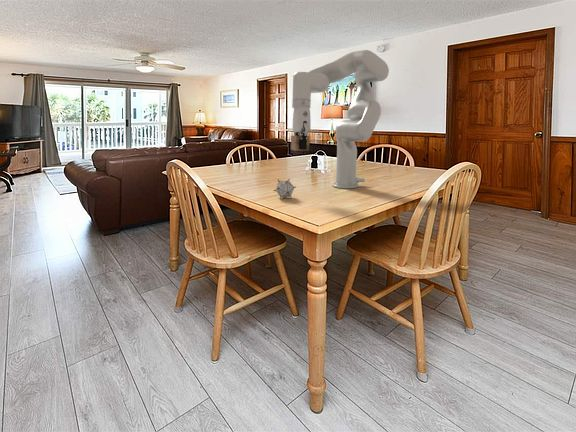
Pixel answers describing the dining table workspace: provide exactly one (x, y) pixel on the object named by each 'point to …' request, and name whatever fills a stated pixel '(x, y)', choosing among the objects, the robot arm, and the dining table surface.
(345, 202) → the dining table surface
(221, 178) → the dining table surface
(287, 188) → the grey spiked ball
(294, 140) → the walnut cube
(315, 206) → the dining table surface
